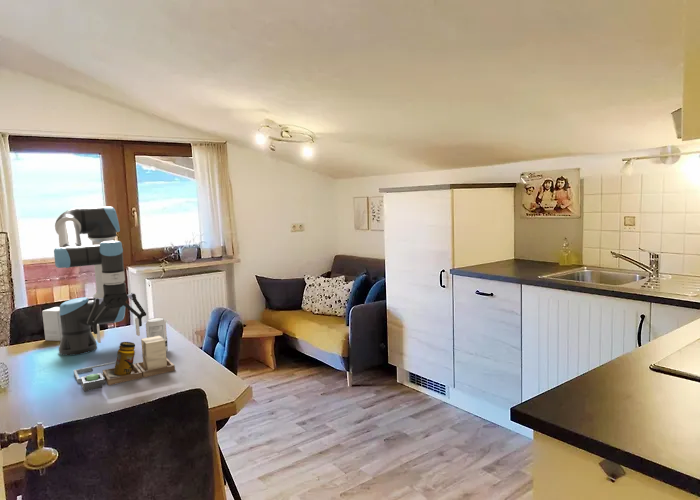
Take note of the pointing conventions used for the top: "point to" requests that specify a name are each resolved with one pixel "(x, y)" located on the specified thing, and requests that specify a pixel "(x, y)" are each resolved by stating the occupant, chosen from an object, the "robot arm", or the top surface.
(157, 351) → the block
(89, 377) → the button
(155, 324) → the supplement can
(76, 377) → the frame
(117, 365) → the condiment
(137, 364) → the brown divided tray
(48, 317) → the supplement box
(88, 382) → the button housing
